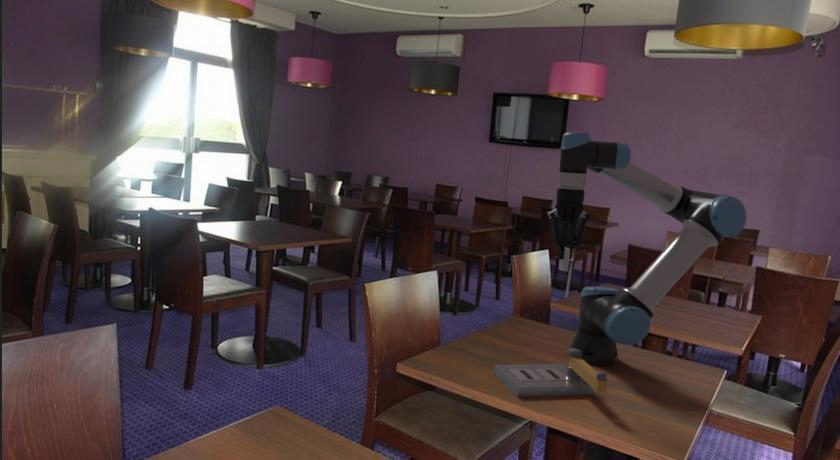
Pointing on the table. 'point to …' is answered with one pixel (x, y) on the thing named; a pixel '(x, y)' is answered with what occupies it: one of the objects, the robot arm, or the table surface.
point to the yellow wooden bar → (587, 371)
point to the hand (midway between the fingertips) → (563, 270)
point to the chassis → (542, 380)
